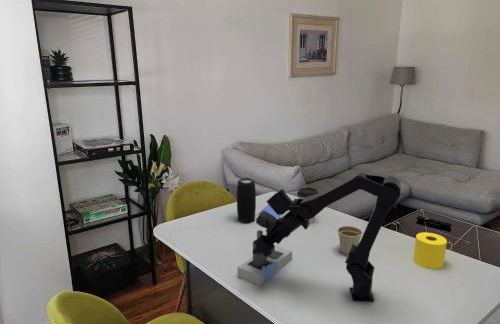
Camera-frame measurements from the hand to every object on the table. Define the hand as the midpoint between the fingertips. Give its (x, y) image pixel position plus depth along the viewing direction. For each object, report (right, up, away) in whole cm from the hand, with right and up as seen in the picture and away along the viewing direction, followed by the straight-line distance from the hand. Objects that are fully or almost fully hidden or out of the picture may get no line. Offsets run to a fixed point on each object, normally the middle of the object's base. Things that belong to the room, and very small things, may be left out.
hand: (256, 249), depth 130 cm
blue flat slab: (+10, +5, +57) cm, 59 cm away
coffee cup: (+24, +3, +45) cm, 51 cm away
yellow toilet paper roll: (+63, -7, +9) cm, 64 cm away
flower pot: (+36, -5, +17) cm, 40 cm away
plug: (+1, -7, +1) cm, 7 cm away
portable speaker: (-4, +3, +46) cm, 46 cm away
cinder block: (+4, -8, +5) cm, 10 cm away
